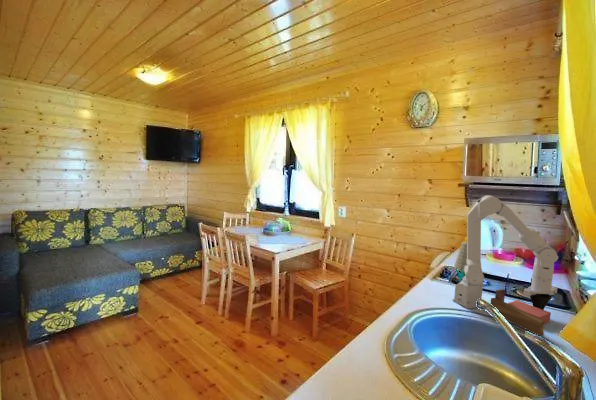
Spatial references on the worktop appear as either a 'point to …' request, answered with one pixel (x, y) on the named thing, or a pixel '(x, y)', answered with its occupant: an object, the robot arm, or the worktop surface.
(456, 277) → the stick construction toy
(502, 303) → the shelf wall
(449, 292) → the worktop surface
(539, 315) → the reddish rectangular block
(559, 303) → the worktop surface
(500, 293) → the bookend
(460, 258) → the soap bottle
